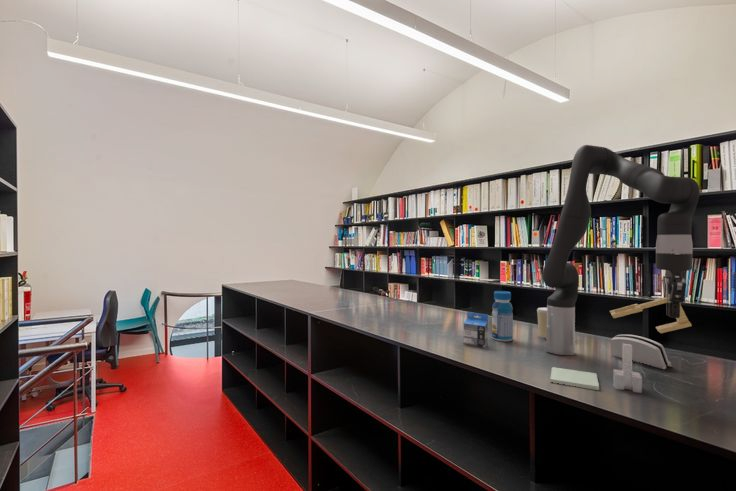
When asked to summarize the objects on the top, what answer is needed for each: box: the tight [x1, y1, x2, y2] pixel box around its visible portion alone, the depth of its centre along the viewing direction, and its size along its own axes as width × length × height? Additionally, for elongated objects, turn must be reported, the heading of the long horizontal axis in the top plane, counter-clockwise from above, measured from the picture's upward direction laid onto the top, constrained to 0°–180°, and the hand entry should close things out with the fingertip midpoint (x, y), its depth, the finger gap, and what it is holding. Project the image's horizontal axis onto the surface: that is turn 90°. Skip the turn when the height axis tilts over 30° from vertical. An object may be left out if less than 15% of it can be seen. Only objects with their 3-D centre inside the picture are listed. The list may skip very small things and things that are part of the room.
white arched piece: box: [610, 334, 672, 370], centre depth 127 cm, size 17×5×10 cm, turn 26°
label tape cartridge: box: [463, 311, 489, 348], centre depth 148 cm, size 9×4×12 cm, turn 53°
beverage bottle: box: [491, 290, 514, 342], centre depth 156 cm, size 8×8×20 cm
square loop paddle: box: [609, 296, 693, 334], centre depth 101 cm, size 16×7×8 cm, turn 62°
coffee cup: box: [536, 307, 547, 339], centre depth 161 cm, size 9×9×12 cm
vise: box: [612, 344, 643, 394], centre depth 106 cm, size 6×11×12 cm, turn 152°
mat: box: [549, 366, 600, 391], centre depth 109 cm, size 12×12×1 cm
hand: (672, 316), depth 99 cm, fingers closed on square loop paddle
